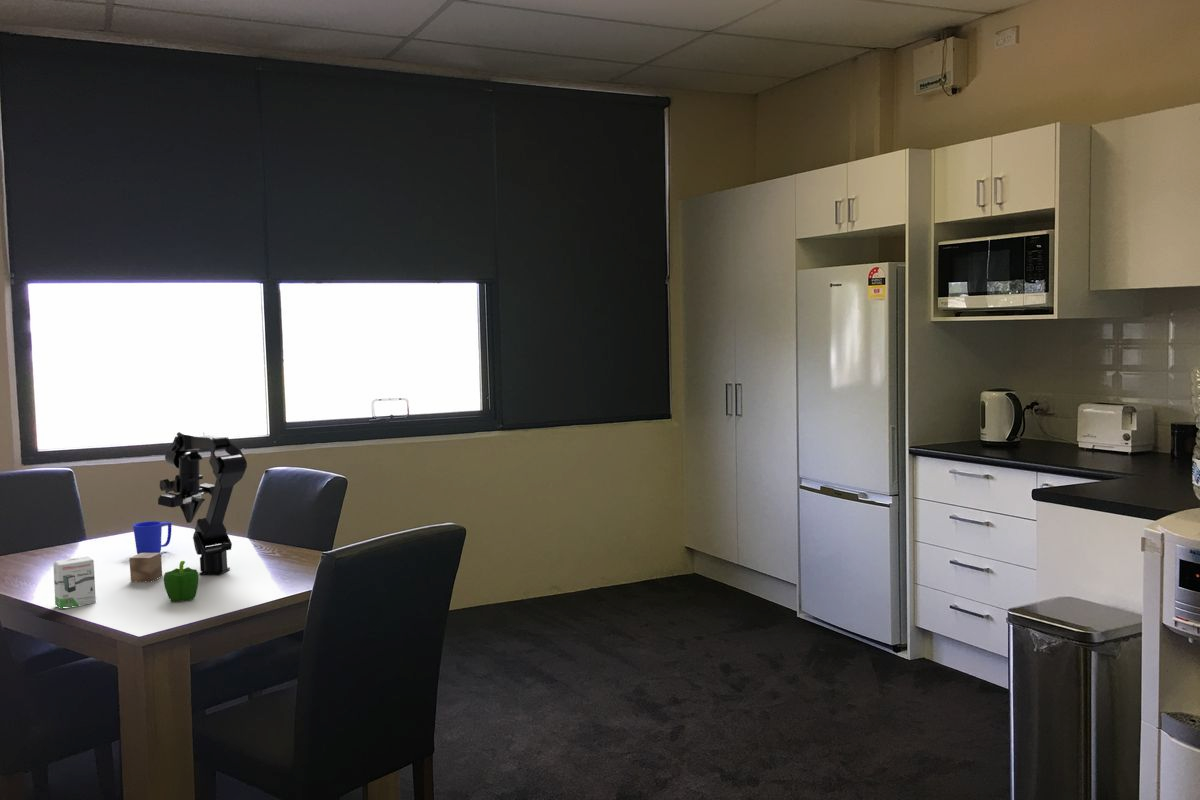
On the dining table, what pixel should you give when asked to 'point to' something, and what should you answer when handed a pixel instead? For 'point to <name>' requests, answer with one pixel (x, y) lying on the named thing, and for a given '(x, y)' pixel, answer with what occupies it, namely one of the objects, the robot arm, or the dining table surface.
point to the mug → (150, 536)
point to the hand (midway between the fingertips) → (189, 522)
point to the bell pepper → (181, 583)
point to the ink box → (74, 582)
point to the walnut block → (145, 567)
